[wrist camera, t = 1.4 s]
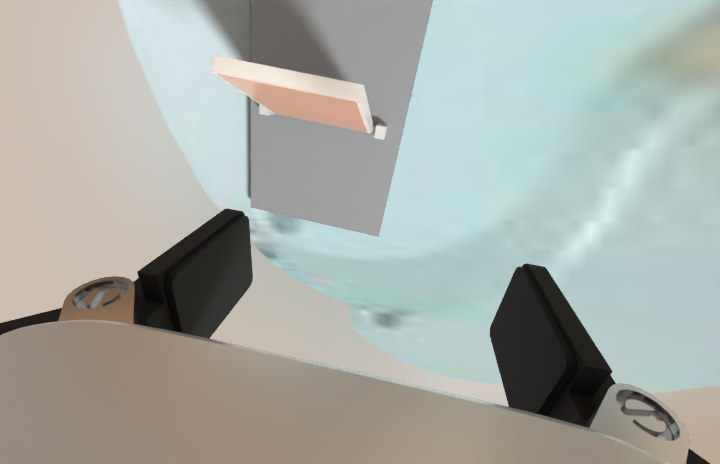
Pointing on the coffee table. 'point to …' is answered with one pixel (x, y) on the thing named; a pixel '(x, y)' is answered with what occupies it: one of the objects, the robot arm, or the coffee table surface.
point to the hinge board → (326, 142)
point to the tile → (298, 93)
